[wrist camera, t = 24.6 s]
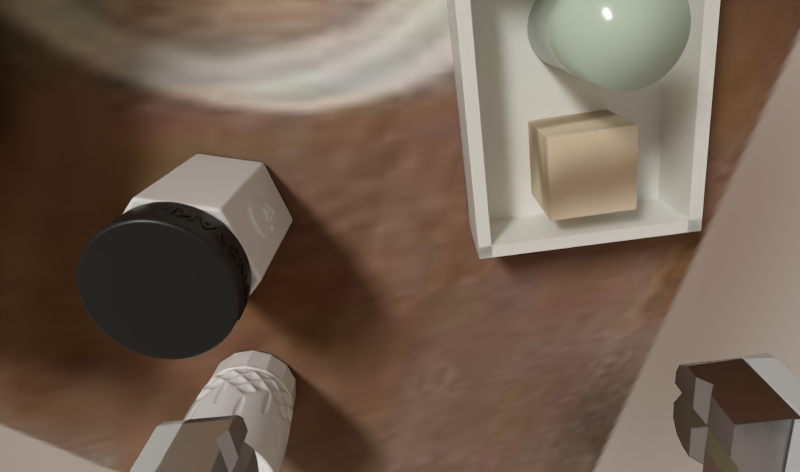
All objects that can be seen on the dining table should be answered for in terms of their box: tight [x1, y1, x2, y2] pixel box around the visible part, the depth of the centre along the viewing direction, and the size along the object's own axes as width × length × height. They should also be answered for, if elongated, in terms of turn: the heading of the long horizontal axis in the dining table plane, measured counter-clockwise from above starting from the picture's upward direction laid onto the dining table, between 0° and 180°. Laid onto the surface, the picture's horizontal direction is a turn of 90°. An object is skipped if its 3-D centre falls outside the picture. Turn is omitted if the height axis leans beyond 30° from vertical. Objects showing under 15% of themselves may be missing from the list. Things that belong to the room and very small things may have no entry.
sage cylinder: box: [527, 0, 691, 92], centre depth 27 cm, size 5×5×9 cm
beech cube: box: [528, 109, 639, 221], centre depth 32 cm, size 5×5×5 cm
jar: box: [77, 154, 293, 359], centre depth 32 cm, size 9×8×12 cm
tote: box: [447, 0, 720, 259], centre depth 32 cm, size 18×14×5 cm
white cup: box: [183, 350, 296, 472], centre depth 39 cm, size 8×8×10 cm
